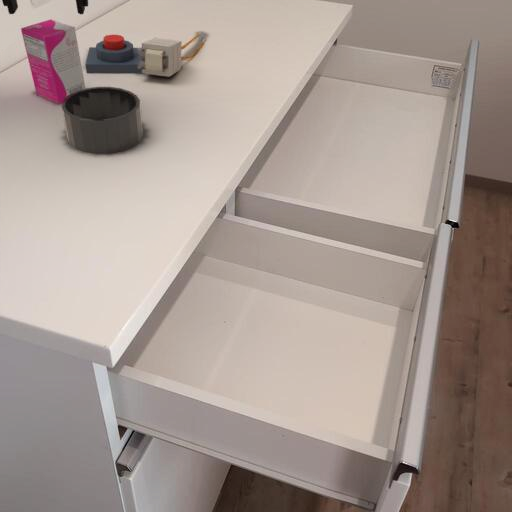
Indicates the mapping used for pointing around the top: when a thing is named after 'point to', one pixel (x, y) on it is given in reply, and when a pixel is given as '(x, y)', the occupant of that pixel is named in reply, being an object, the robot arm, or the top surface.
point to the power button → (114, 42)
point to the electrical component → (162, 56)
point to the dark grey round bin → (102, 119)
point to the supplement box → (53, 59)
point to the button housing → (113, 59)
